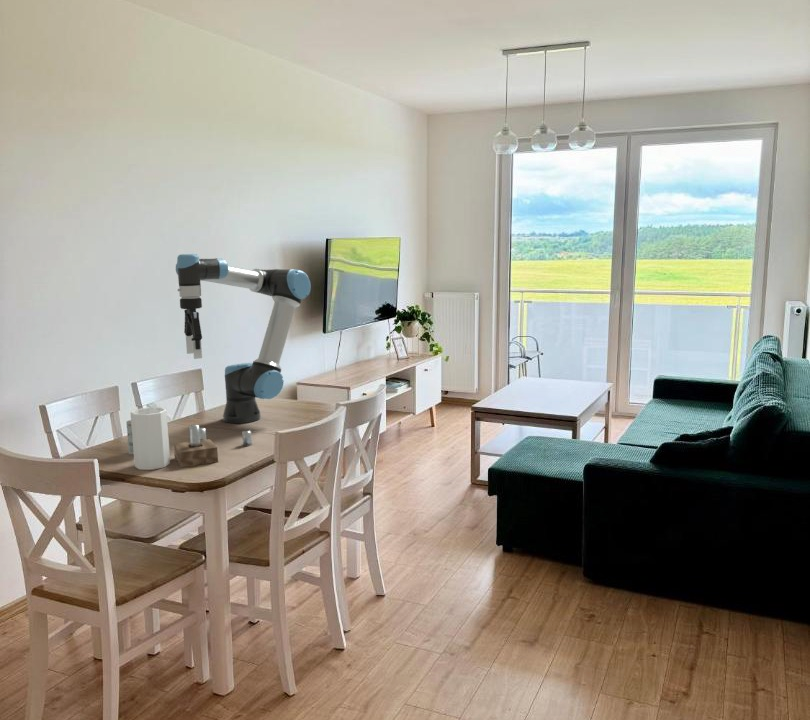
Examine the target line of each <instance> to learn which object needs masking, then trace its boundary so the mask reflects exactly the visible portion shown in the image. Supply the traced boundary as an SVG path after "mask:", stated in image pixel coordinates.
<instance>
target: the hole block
mask: <svg viewBox="0 0 810 720" xmlns="http://www.w3.org/2000/svg"><path fill="white" fill-rule="evenodd" d="M200 446H201V447H194V448H191V445H190V441H184V442H178V443H174V444H173V447H174V449H173V451H174V459H175V460H176V462H177V463H178V465H179V466H180V468H185V467H193V466H198V465H199V466H200V465H204V464H205V465H207V464H212V463H213V462H214V463H219V458H218V457H219V455H218V454H219V453H218V447H217V446H216V445H215V443H214V442H213V441H212V440H211V439H210V438H209V439H207V438H206V440H200ZM214 463H213V464H214Z"/></svg>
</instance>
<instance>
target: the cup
mask: <svg viewBox="0 0 810 720" xmlns="http://www.w3.org/2000/svg"><path fill="white" fill-rule="evenodd" d="M130 420H131V426H132V439H133V451H134V454H133V460H134V461H133V462H134V467H135V468H136V469H138V470H139V471H153V470H154V471H155V470H158V469H163V468H166V467H167V466H169V465H170V464H171V455H170V454H171V452H170V440H169V429H168V413H167V409H166V408H164V407H159V406H158V407H156V406H154V407H151V406H149V407H143V408H142V407H141V408H138V409H135V410H132V411H130Z"/></svg>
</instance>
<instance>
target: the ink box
mask: <svg viewBox="0 0 810 720" xmlns="http://www.w3.org/2000/svg"><path fill="white" fill-rule="evenodd" d="M126 431H127V433H126V434H127V446H128V454H130V455H134V451H133V439H132V426H131V419H130V420H127V421H126Z"/></svg>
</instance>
